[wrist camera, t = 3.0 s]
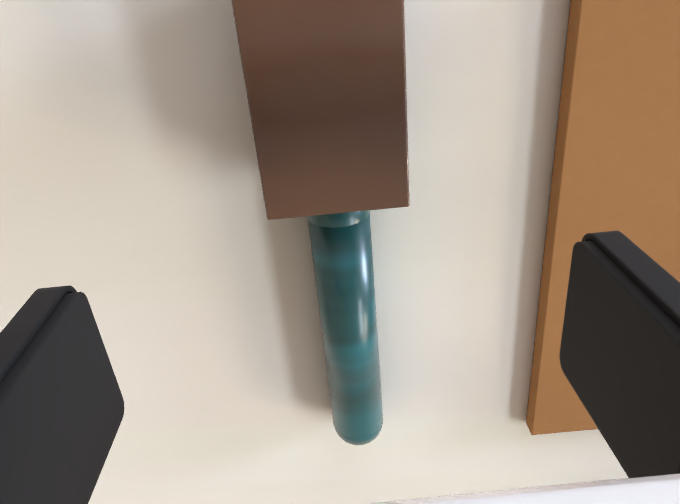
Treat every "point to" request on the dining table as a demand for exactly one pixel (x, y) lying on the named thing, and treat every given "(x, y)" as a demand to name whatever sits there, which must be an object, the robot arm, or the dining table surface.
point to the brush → (332, 162)
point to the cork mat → (608, 168)
